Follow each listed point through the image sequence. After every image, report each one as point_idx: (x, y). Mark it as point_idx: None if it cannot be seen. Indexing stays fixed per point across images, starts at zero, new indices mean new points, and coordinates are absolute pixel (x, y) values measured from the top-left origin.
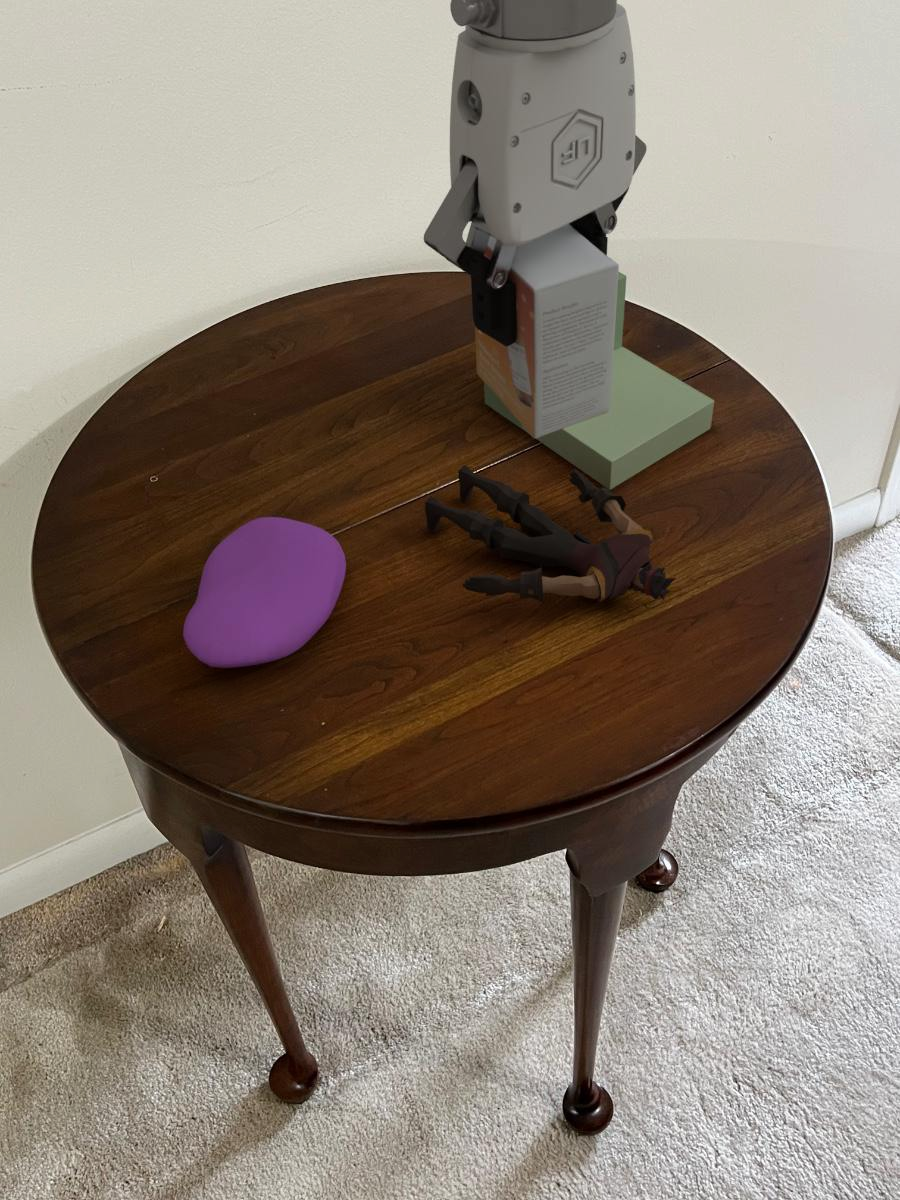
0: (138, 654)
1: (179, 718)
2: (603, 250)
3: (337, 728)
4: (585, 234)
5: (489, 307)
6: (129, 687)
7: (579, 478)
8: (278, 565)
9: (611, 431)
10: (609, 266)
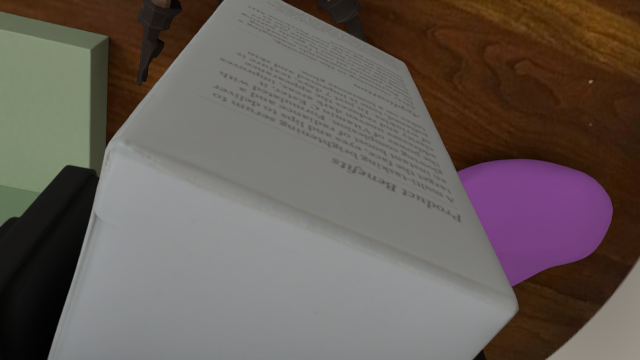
0: (580, 262)
1: (634, 190)
2: (3, 263)
3: (591, 65)
4: (3, 355)
5: (481, 350)
6: (617, 244)
7: (147, 65)
8: (493, 237)
9: (44, 83)
10: (162, 168)
